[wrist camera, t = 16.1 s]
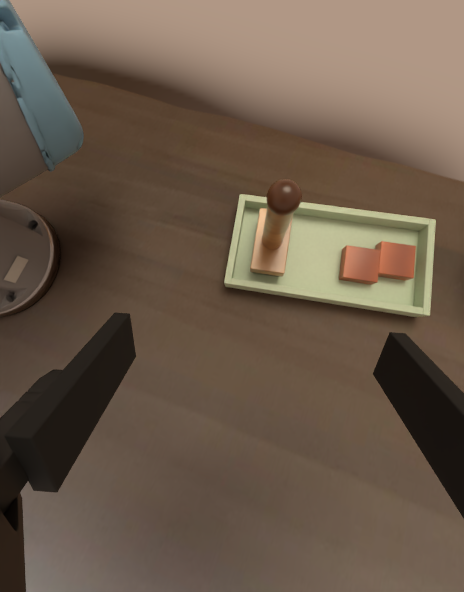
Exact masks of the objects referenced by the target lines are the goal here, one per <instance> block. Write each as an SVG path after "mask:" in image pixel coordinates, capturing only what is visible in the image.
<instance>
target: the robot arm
mask: <svg viewBox="0 0 464 592" xmlns="http://www.w3.org/2000/svg"><path fill="white" fill-rule="evenodd" d="M83 137H84V136H83V130H82V127H81V124H80V122H79V120H78V118H77V117H76V115H75V113H74V111H73V109H72V108H71V106H70V104H69V102H68V100H67V99H66V97H65V95H64V93H63V92H62V90H61V88H60V86H59V85H58V83H57V81H56V80H55V78H54V76H53V74H52V73H51V71H50V69H49V67H48V66H47V64H46V62H45V61H44V59H43V57H42V55H41V54H40V52H39V50H38V49H37V47H36V45H35V43H34V42H33V40H32V38H31V36H30V35H29V33H28V31H27V30H26V28H25V26H24V25H23V23H22V21H21V19H20V18H19V16H18V14H17V13H16V11H15V9H14V7H13V6H12V4H11V2H10V1H9V0H0V197H2V196H3V195H5V194H7V193H8V192H10V191H12V190H14V189H15V188H17V187H19V186H20V185H22V184H24V183H26V182H27V181H29V180H31V179H32V178H34V177H36V176H38V175H39V174H41V173H43V172H44V171H46V170H49V171H53V170H54V169H55V165H57V164H59V163H60V162H62V161H63V160H65V159H66V158H68V157H69V156H71V155H72V154H74V153H75V152H77V151H78V150H79V149H80V148H81V146H82V144H83ZM59 263H60V245H59V240H58V237H57V234H56V232H55V230H54V229H53V227H52V226H51V224H50V223H49V222H48V221H47V220H46V219H45V218H44V217H42V216H41V215H39V214H38V213H36V212H34V211H32V210H31V209H29V208H27V207H25V206H23V205H21V204H17V203H13V202H9V201H5V200H0V316H6V315H11V314H15V313H18V312H20V311H23V310H25V309H27V308H28V307H30V306H31V305H33V304H34V303H36V302H37V301H38V300H39V299H40V298H41V297H42V296H43V295H44V294H45V293H46V291H47V290H48V289H49V287H50V286H51V284H52V283H53V281H54V279H55V276H56V274H57V271H58V268H59ZM135 357H136V353H135V346H134V339H133V333H132V326H131V319H130V314H127V313H114V314H113V315H112V316H111V317H110V319H109V320H108V321H107V322H106V323H105V324H104V325H103V326H102V327H101V328H100V330H99V331H98V332H97V333H96V334H95V335H94V336H93V337H92V338H91V340H90V341H89V342H88V343H87V344H86V345H85V346H84V347H83V348H82V350H81V351H80V352H79V353H78V354H77V355H76V356H75V357H74V358H73V360H72V361H71V362H70V363H69V364H68V365H67V366H66V367H65V368H64V369H63V370H52V371H50V372H49V373H47V374H46V375H44V376H43V377H41V378H39V379H38V380H37V381H36V382H35V383H34V384H33V385H32V387H31V388H30V389H29V390H28V392H26V393H25V394H24V395H23V396H22V397H21V398H20V399H19V401H17V402H16V403H15V404H14V405H13V406H12V407H11V408H10V409H9V410H8V411H7V412H6V413H5V414H4V415H3V416H2V417H1V418H0V592H26V583H25V559H24V534H23V510H22V497H21V494H20V492H21V490H22V489H23V487H24V486H25V484H26V483H27V481H29V483H30V485H31V487H32V488H33V490H34V491H46V492H58V490H59V488H60V487H61V485H62V483H63V481H64V480H65V478H66V476H67V475H68V473H69V471H70V469H71V468H72V466H73V464H74V462H75V461H76V459H77V457H78V456H79V454H80V452H81V450H82V449H83V447H84V445H85V443H86V442H87V440H88V438H89V437H90V435H91V433H92V431H93V430H94V428H95V426H96V424H97V423H98V421H99V419H100V418H101V416H102V414H103V412H104V411H105V409H106V407H107V405H108V404H109V402H110V400H111V399H112V397H113V395H114V393H115V392H116V390H117V388H118V386H119V385H120V383H121V381H122V380H123V378H124V376H125V374H126V373H127V371H128V369H129V367H130V366H131V364H132V362H133V361H134V359H135ZM373 375H374V376H375V378H376V380H377V381H378V383H379V384H380V386H381V388H382V389H383V391H384V392H385V394H386V396H387V397H388V399H389V400H390V402H391V404H392V405H393V407H394V408H395V410H396V411H397V413H398V415H399V416H400V418H401V419H402V421H403V423H404V424H405V426H406V427H407V429H408V431H409V432H410V434H411V435H412V437H413V439H414V440H415V442H416V443H417V445H418V447H419V448H420V450H421V451H422V453H423V454H424V456H425V458H426V459H427V461H428V462H429V464H430V466H431V467H432V469H433V470H434V472H435V474H436V475H437V477H438V478H439V480H440V482H441V483H442V485H443V486H444V488H445V490H446V491H447V493H448V494H449V496H450V497H451V499H452V501H453V502H454V504H455V505H456V507H457V509H458V510H459V512H460V513H461V515H462V517H463V518H464V393H463V392H462V391H461V390H460V389H459V388H458V387H457V386H456V385H455V384H454V383H453V382H452V381H451V380H450V379H449V378H448V377H447V376H446V375H445V374H444V373H443V372H442V371H441V370H440V369H439V368H438V366H437V365H436V364H435V363H434V362H433V361H432V360H431V359H430V358H429V357H428V356H427V355H426V354H425V353H424V352H423V351H422V350H421V349H420V348H419V347H418V346H417V345H416V344H415V343H414V342H413V341H412V340H411V339H410V338H409V337H408V336H407V335H406V334H405V333H392V332H390V333H389V336H388V338H387V340H386V343H385V345H384V348H383V350H382V353H381V355H380V358H379V360H378V362H377V365H376V367H375V370H374V372H373Z"/></svg>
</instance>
